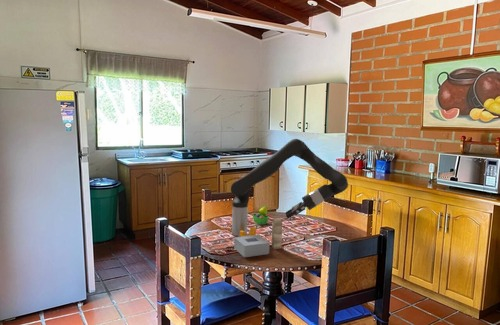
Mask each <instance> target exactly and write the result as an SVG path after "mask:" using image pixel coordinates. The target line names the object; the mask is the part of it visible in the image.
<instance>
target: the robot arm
mask: <svg viewBox="0 0 500 325" xmlns="http://www.w3.org/2000/svg"><path fill="white" fill-rule="evenodd" d="M294 156H295V157H296V158H299V159H301V160H302V161H304V162H305V163H307V164H308V165H309V166H310V167H311V168H312V169H313V170H314V171H315V172H316V173H317V174H319V176H321V177H322V178H323V179H325V180H326V181H327V180H328V181H329V182H330V183H329V184H323V185H321V186H319V187H318V188H316V189H314V190H312V191H310V192H309V193H307V194H305V195H304V196H302V198H301V200H302V201H299V202H298V203H297V204H295V205H294V206H292V207H291V208H289V210H287V211H285V218H286V219H290V218H292V217H293V216H298V214H300V213H302V212H303V211H305V210H306V208H307V210H309V211H310V210H312V209H314V208H316V207H317V206H319V205H321V204H322V203H323V202H325V201H326V200H328V199H329V198H331V197H333V196H336V195H338V194H340V193H342V192H344V191H346V190H347V189H348V187H349V182H348V178H347V176H346V175H344V174H343V173H342V172H340V171H338V170H337V169H335V168H333V167H332V165H329V163H327V162H326V161H325V160H323V159H322V158H320V157H319V156H318V155H316V154H315V153H314V152H313V151H312V150H311V148H310V147H308V145H307V144H306V143H305V142H304V141H303V140H301V139H298V138H292V139H291V140H290V141H288V142H287V143H286V144H284V145H283V147H281V148H280V149H279V150H278V151H276V152H275V153H274V154H272V155H270V156H269V157H268V158H266V159H265V160H263V161H262V162H260V163H259V164H258V165H257V166H255V167H254V168H252V170H251V171H249V172H248V173H246V175H244V176H243V177H241V178H239V179H238V180H234V181H233V182H232V184H231V186H230V192H231V193H232V195H233V196H234V198H233V200H232V210H231V211H232V212H231V214H232V215H231V216H232V217H231V222H232V223H231V234H232V235H233V236H235V237H239V234H240V231H241V230H242V231H245V234H246V235H248V215H249V214H248V210H249V209H248V208H249V207H248V206H249V205H248V204H249V200H250V190H251V188H252V187H254V186H256V184H259V183H260V182H263V181H265V180H267V179H268V178H270V177H271V176H273V175H274V174H276V172H277V171H279V169H280V168H281V166H282V165H283V163H285V162H286V161H288V160H289V159H291V158H292V157H294Z"/></svg>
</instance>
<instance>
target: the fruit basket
mask: <svg viewBox="0 0 500 325" xmlns="http://www.w3.org/2000/svg"><path fill="white" fill-rule="evenodd" d="M267 214H268V207H267V206H266V205H264V206H262V207H261V208H260V209H259V210H258V212H257V213H252V219H253V222H254V223H256V224H257V225H260V226H261V225H262V226H263V225H267V222H268V220H269V216H268V215H267Z"/></svg>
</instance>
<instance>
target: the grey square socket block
mask: <svg viewBox="0 0 500 325" xmlns="http://www.w3.org/2000/svg"><path fill="white" fill-rule="evenodd" d="M233 248H235V251H236V252H238V254H240V255H241V256H242V257H243V258H249V257H251V258H252V257H256V256H257V257H258V256H263V255H269V254H270V242H269V241H268V240H266V239H265V238H264V237H262V236H261V235H259V234H256V235H251V236H243V237H239V236H235V237H234V241H233Z"/></svg>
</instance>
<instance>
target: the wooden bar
mask: <svg viewBox="0 0 500 325" xmlns="http://www.w3.org/2000/svg"><path fill="white" fill-rule="evenodd" d="M271 226H272V227H271V248H272V249H274V250H277V249H282V240H283V239H282V237H283V219H282V218H281V217H277V218H275V217H274V218H272V225H271Z"/></svg>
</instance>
